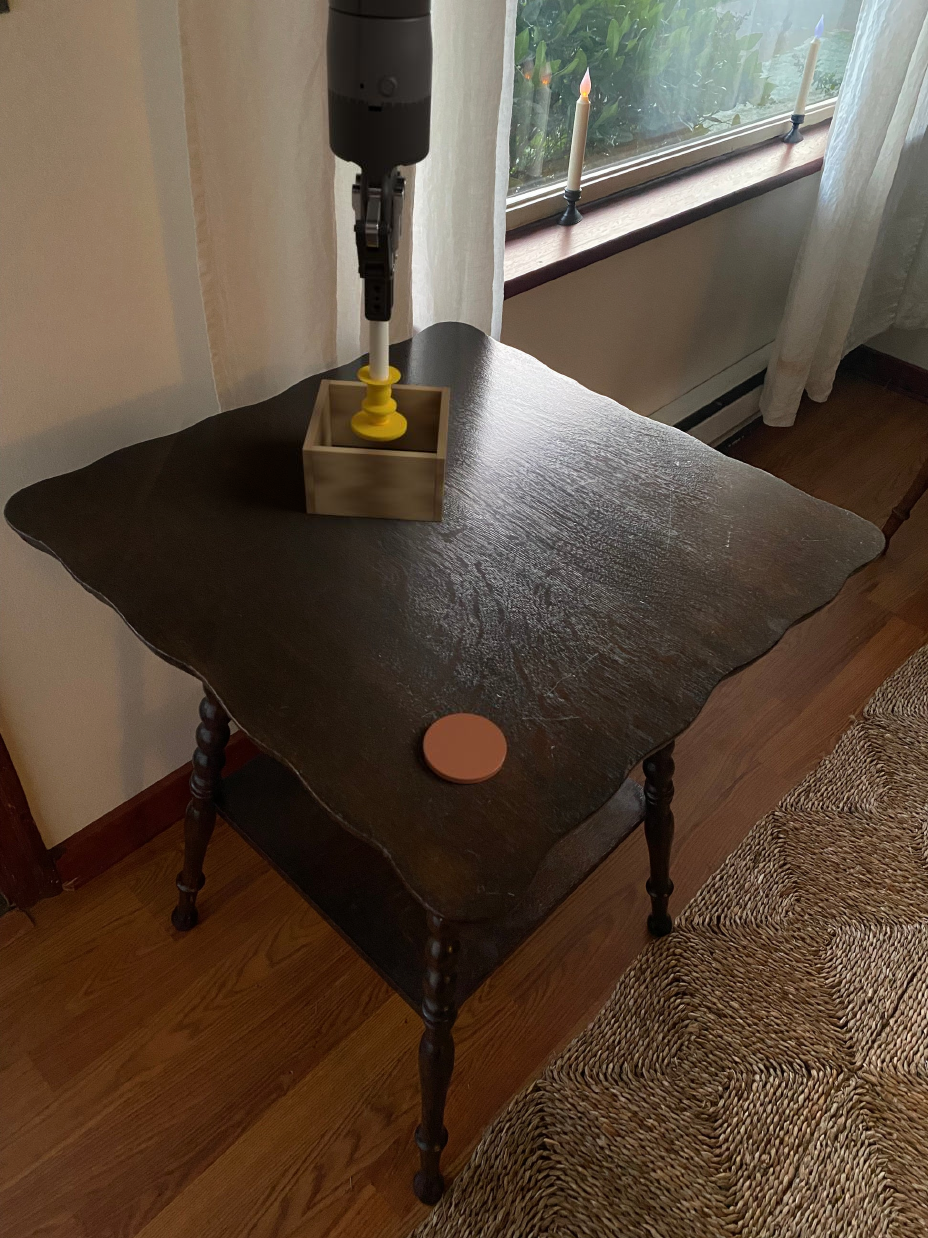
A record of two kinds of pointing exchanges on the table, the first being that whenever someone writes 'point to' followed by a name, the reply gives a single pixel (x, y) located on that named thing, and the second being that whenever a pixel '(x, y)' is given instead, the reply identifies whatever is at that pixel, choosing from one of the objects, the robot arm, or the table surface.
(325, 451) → the crate
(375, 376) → the candle
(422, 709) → the table surface
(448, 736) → the coaster
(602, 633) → the table surface
